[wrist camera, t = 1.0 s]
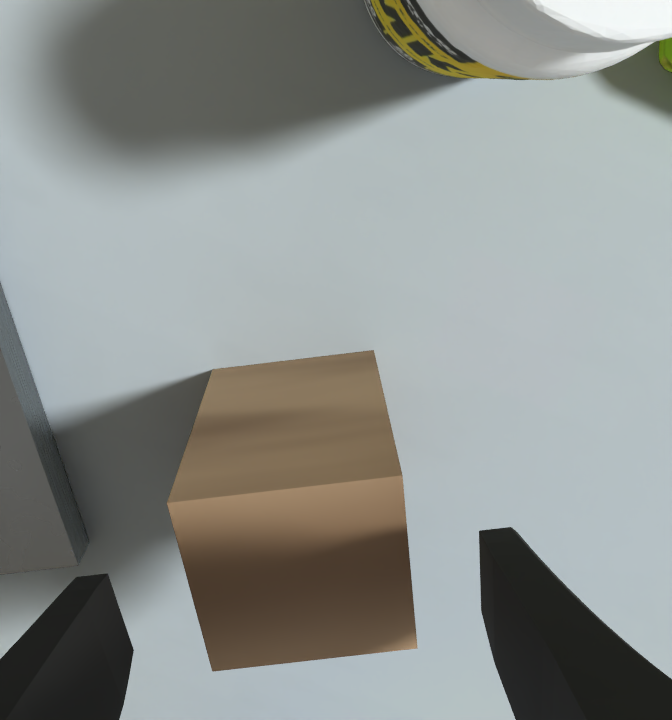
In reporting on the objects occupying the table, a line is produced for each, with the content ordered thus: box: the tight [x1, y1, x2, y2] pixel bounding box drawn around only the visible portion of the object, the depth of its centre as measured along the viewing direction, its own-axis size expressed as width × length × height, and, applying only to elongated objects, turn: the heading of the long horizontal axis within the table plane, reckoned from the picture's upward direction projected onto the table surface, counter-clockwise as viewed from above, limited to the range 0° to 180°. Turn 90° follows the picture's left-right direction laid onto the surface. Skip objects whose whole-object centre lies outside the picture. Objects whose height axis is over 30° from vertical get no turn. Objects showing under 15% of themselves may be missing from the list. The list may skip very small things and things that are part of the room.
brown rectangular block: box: [167, 350, 417, 671], centre depth 16 cm, size 6×4×6 cm
